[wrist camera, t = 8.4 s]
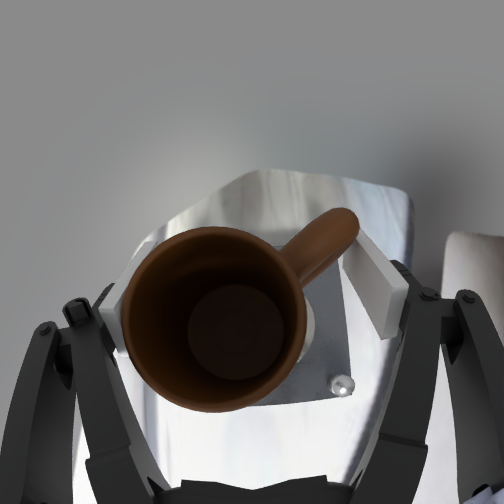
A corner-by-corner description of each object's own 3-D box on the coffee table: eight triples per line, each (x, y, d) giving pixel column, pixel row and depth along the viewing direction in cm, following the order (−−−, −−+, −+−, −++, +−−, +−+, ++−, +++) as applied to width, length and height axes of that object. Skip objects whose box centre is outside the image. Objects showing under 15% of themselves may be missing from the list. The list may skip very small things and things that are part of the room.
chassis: (331, 247, 32) (340, 230, 27) (347, 392, 27) (360, 399, 22) (189, 259, 32) (175, 244, 28) (194, 403, 27) (180, 412, 22)
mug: (294, 223, 22) (308, 140, 13) (361, 302, 19) (425, 262, 10) (162, 319, 20) (89, 292, 11) (223, 407, 18) (187, 450, 9)
